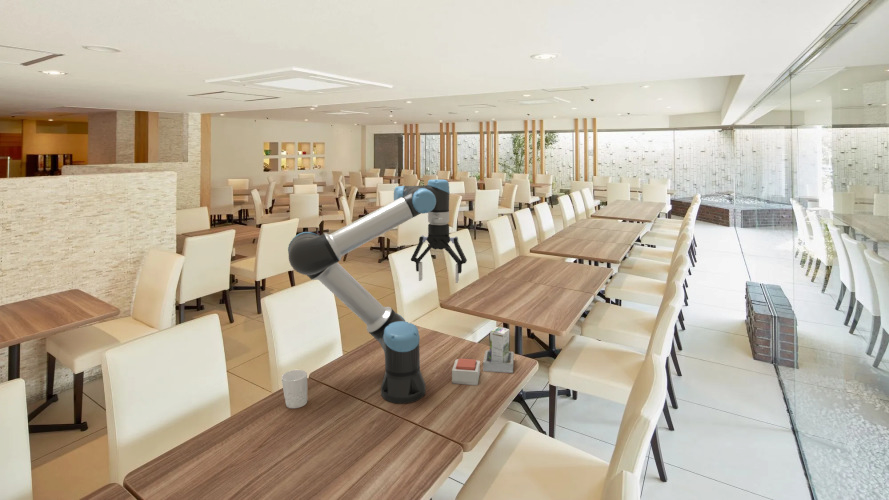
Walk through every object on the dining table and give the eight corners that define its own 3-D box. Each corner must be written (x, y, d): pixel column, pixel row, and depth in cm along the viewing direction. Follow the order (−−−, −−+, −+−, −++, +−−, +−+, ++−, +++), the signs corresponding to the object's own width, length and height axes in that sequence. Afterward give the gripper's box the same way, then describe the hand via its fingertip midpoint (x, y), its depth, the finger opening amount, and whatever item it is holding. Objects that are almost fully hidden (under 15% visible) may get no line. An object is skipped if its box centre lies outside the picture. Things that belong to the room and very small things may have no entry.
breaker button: (456, 379, 162) (456, 366, 161) (458, 371, 168) (458, 358, 167) (474, 380, 161) (474, 367, 160) (476, 372, 167) (476, 359, 166)
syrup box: (495, 360, 179) (495, 325, 176) (509, 364, 176) (509, 328, 173) (488, 366, 174) (489, 330, 171) (503, 370, 171) (503, 333, 168)
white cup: (294, 395, 155) (292, 368, 153) (314, 399, 152) (311, 371, 150) (278, 407, 148) (276, 378, 146) (298, 411, 145) (296, 382, 143)
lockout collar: (483, 371, 170) (483, 362, 170) (485, 358, 181) (485, 350, 180) (512, 373, 168) (513, 364, 168) (513, 360, 179) (513, 351, 178)
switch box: (452, 383, 161) (452, 370, 160) (455, 371, 170) (455, 359, 169) (477, 385, 160) (477, 372, 159) (479, 373, 169) (479, 360, 168)
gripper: (401, 223, 161) (402, 281, 165) (472, 225, 157) (471, 285, 161) (407, 221, 168) (408, 276, 173) (474, 222, 164) (473, 279, 168)
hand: (438, 281), depth 167 cm, fingers open, 13 cm apart
